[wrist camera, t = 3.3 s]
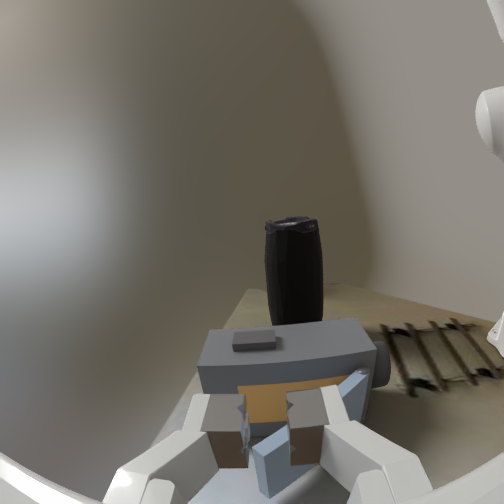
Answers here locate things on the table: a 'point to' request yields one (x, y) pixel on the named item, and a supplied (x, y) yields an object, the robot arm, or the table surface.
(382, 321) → the table surface
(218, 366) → the camcorder body
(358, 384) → the side panel
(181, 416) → the table surface
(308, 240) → the portable speaker
